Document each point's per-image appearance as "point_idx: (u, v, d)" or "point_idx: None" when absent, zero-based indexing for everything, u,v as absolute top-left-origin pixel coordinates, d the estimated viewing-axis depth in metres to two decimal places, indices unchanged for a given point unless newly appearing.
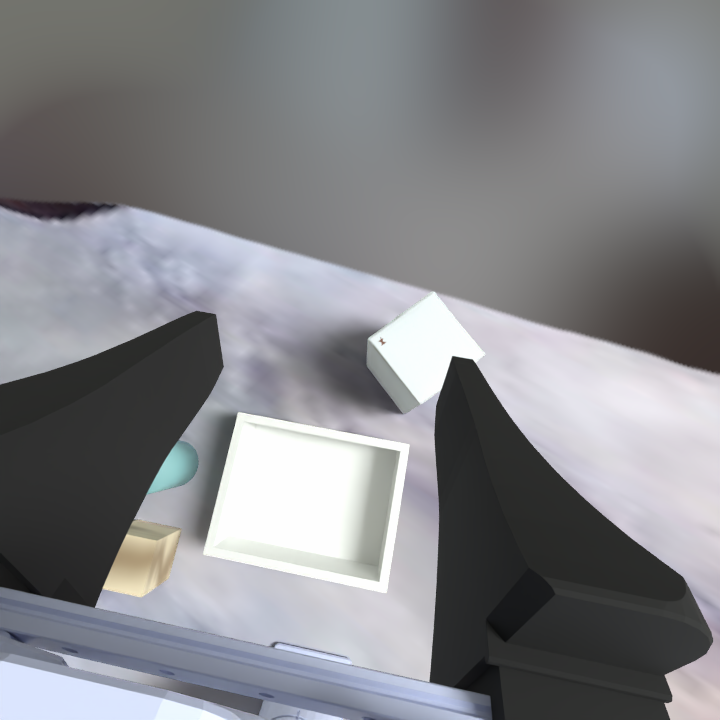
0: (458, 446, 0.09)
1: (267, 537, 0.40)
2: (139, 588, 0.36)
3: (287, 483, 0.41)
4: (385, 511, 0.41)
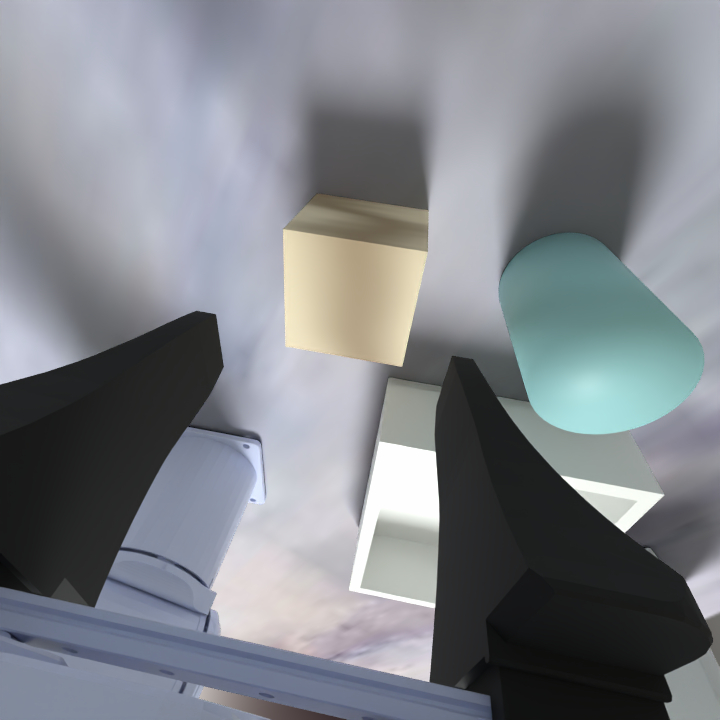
0: (458, 446, 0.09)
1: None
2: (301, 340, 0.16)
3: None
4: (431, 544, 0.32)
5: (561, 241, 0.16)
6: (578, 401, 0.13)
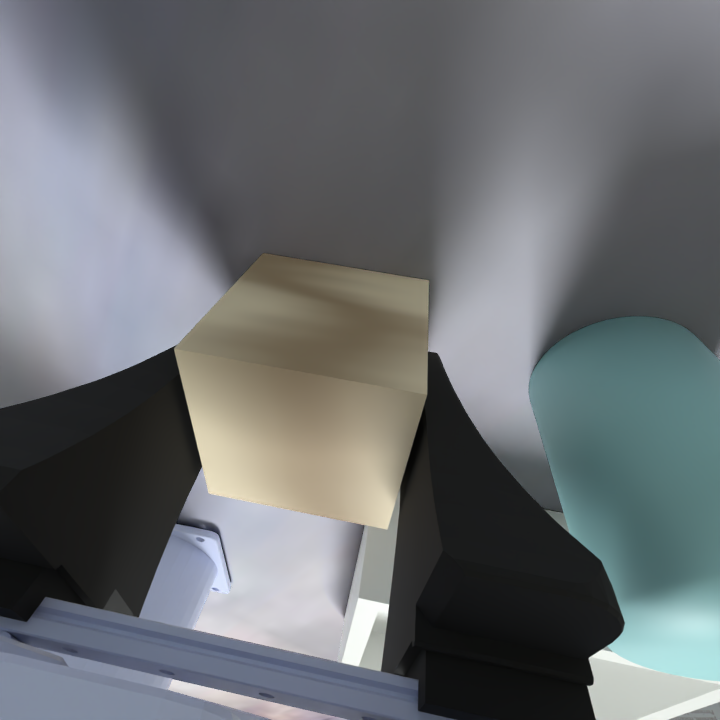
0: (414, 438, 0.09)
1: None
2: (231, 488, 0.10)
3: None
4: None
5: (632, 334, 0.10)
6: (689, 647, 0.07)
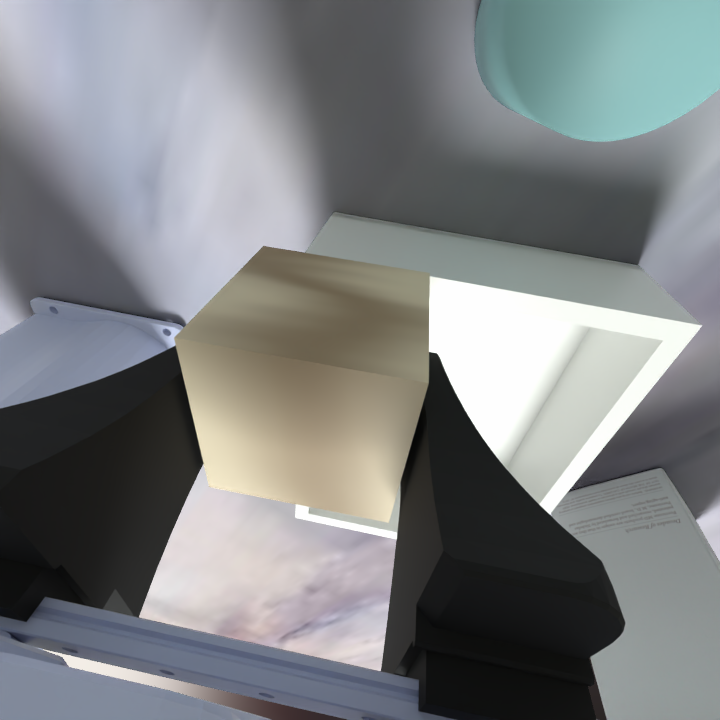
0: (414, 438, 0.09)
1: None
2: (231, 481, 0.10)
3: (455, 349, 0.20)
4: None
5: None
6: (590, 53, 0.08)
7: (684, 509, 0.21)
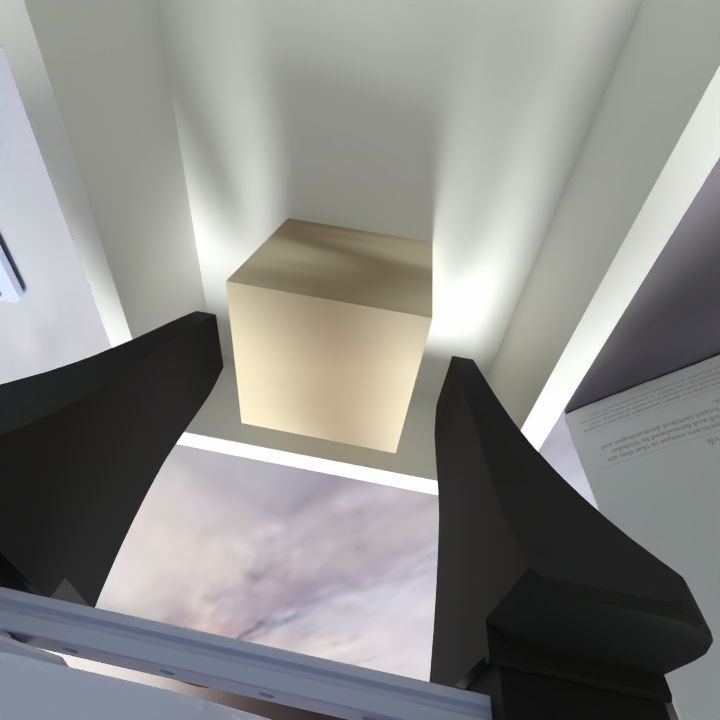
0: (458, 446, 0.09)
1: (177, 2, 0.10)
2: (261, 417, 0.12)
3: (386, 73, 0.10)
4: None
5: None
6: None
7: None
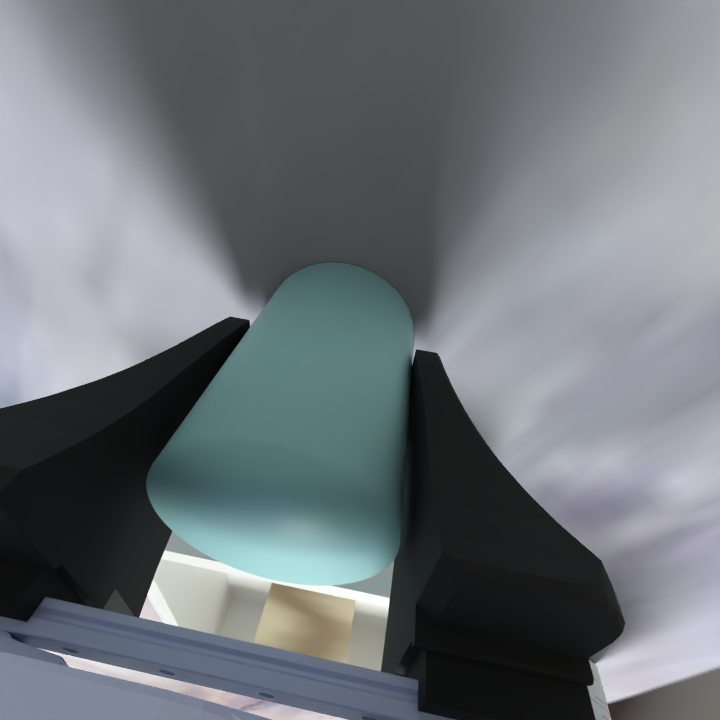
0: (414, 438, 0.09)
1: None
2: None
3: None
4: None
5: (308, 277, 0.11)
6: (249, 546, 0.08)
7: None
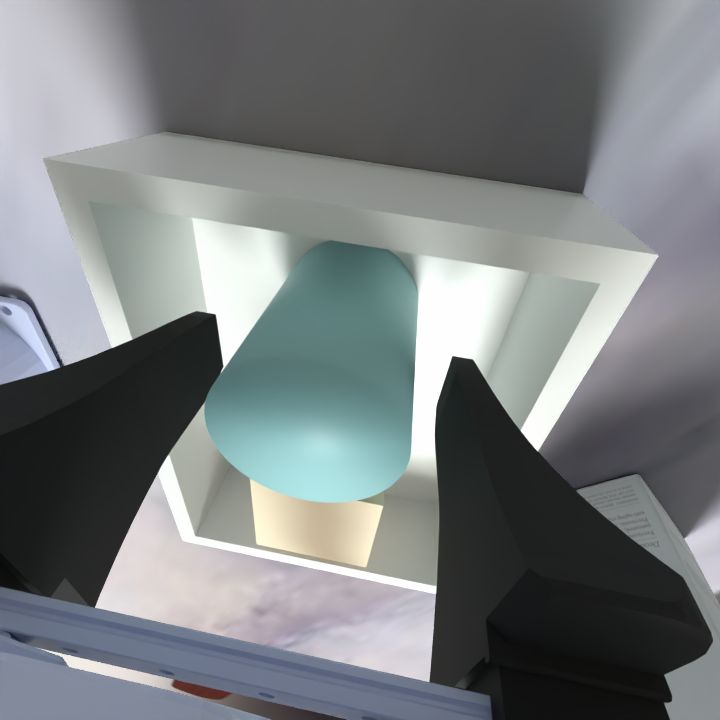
0: (458, 446, 0.09)
1: (215, 279, 0.15)
2: (271, 542, 0.17)
3: None
4: None
5: (326, 249, 0.13)
6: (284, 464, 0.10)
7: (664, 528, 0.16)
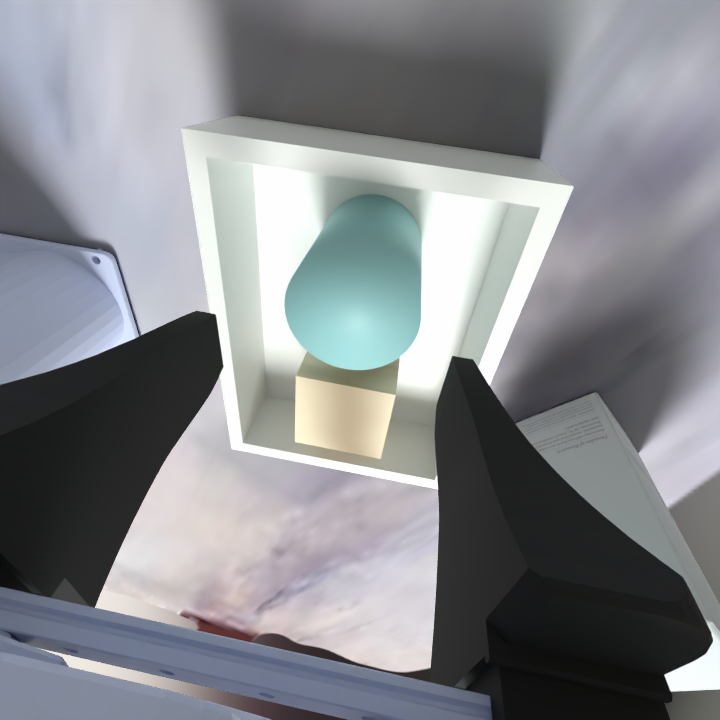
0: (458, 446, 0.09)
1: (267, 229, 0.20)
2: (306, 439, 0.22)
3: None
4: None
5: (355, 201, 0.17)
6: (335, 337, 0.14)
7: (612, 426, 0.21)
